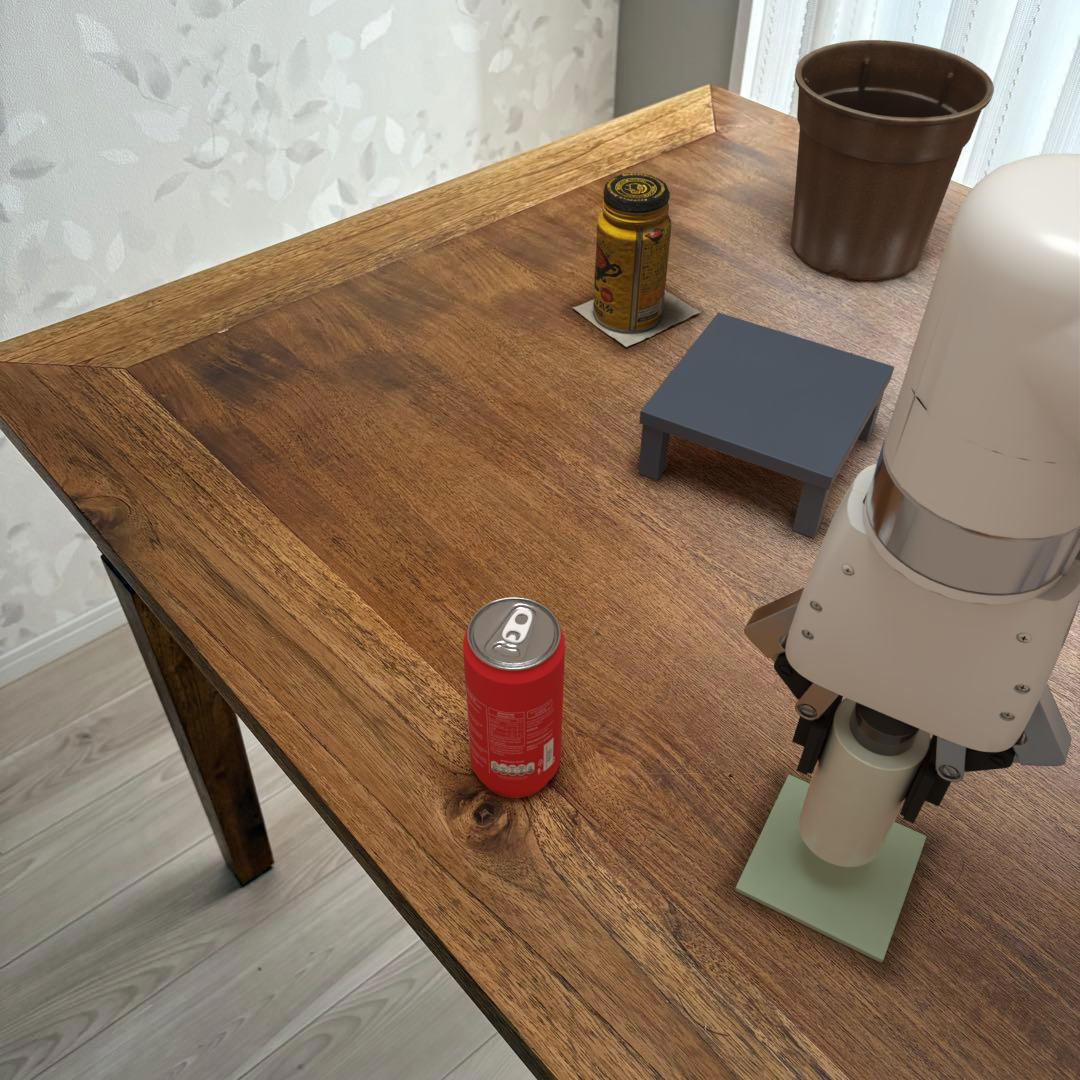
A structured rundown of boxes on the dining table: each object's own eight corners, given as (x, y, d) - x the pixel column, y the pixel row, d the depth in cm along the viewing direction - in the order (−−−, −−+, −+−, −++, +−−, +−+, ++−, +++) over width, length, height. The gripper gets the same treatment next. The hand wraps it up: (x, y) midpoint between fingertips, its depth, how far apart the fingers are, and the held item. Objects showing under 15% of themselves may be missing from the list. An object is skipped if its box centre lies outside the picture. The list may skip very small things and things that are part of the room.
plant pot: (732, 227, 107) (757, 58, 95) (864, 189, 112) (902, 25, 101) (840, 313, 97) (882, 135, 85) (979, 266, 102) (1036, 94, 91)
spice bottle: (894, 814, 58) (952, 693, 50) (868, 882, 55) (925, 765, 48) (814, 778, 60) (858, 655, 52) (785, 843, 57) (827, 723, 49)
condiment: (572, 309, 97) (576, 181, 88) (645, 278, 100) (656, 152, 92) (626, 349, 93) (636, 219, 84) (700, 315, 96) (717, 187, 88)
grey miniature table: (876, 429, 86) (894, 366, 81) (815, 541, 77) (832, 477, 73) (708, 374, 90) (718, 311, 86) (633, 474, 82) (640, 410, 78)
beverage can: (456, 788, 63) (445, 655, 55) (490, 717, 66) (485, 582, 58) (542, 816, 62) (544, 685, 53) (572, 743, 65) (579, 609, 57)
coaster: (925, 839, 61) (927, 835, 61) (881, 963, 56) (883, 960, 56) (787, 777, 64) (788, 773, 63) (734, 890, 59) (735, 887, 59)
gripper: (1234, 522, 40) (1057, 791, 53) (792, 376, 46) (730, 653, 59) (1209, 665, 36) (1022, 921, 49) (722, 484, 41) (672, 757, 54)
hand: (863, 772), depth 54 cm, fingers closed on spice bottle, 4 cm apart
